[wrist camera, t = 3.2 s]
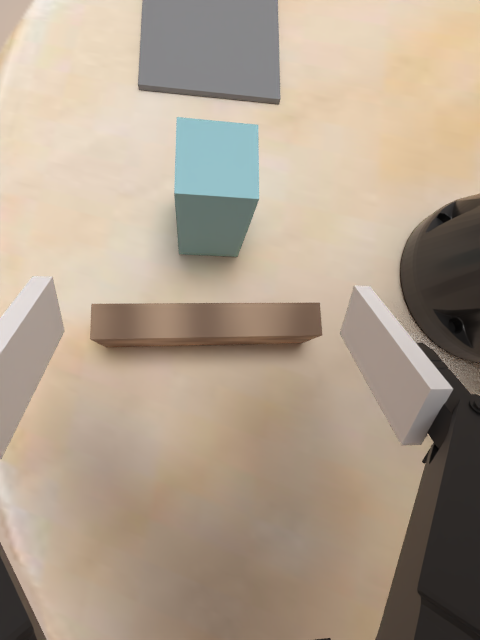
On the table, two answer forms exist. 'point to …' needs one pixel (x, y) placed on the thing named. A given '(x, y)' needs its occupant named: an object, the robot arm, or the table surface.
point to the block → (215, 185)
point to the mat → (211, 48)
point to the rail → (204, 324)
